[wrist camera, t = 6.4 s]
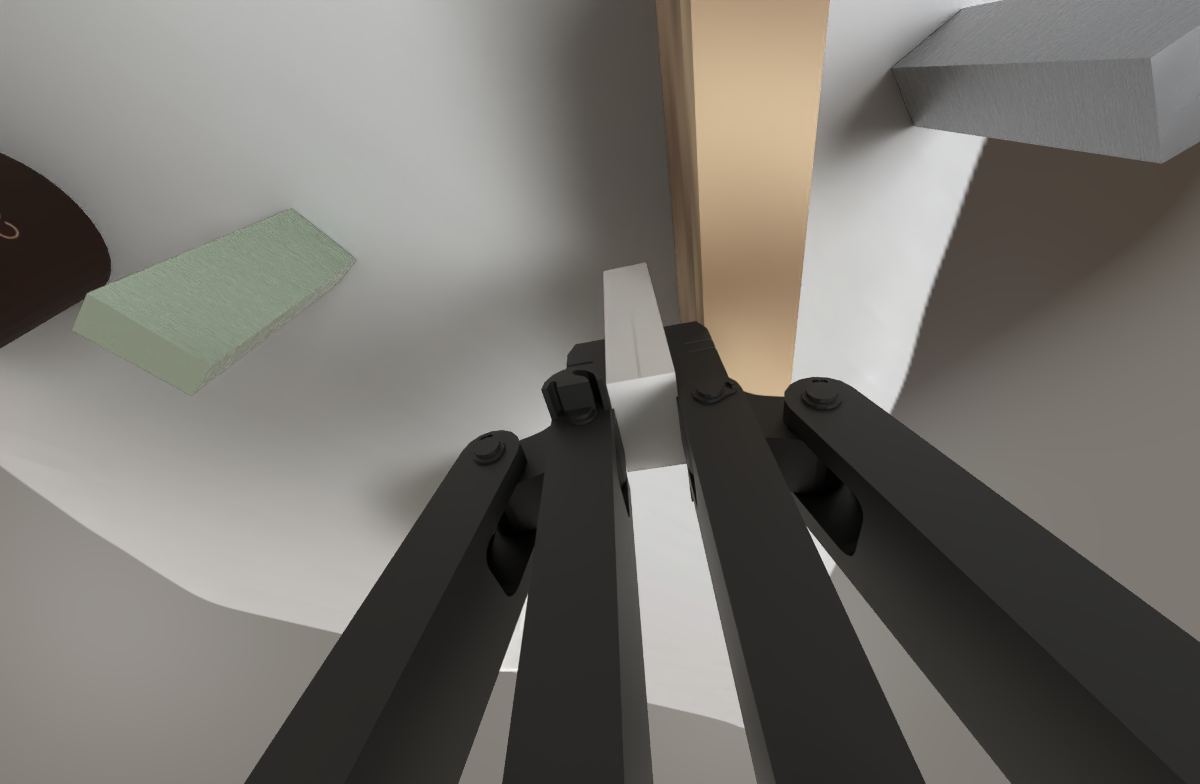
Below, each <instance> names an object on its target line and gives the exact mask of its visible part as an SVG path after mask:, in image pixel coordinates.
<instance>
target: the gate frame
mask: <svg viewBox="0 0 1200 784" xmlns="http://www.w3.org/2000/svg"><path fill="white" fill-rule="evenodd" d="M892 71H893V74H894V76H895V79H896V81H897V84H898V86H899V89H900V91H901V94H902V96H903V99H904V101H905V104H906V106H907V109H908V111H909V114H910V116H911V119H912V121H913V124H914V126H917V127H923V128H930V129H937V130H943V131H950V132H956V133H963V134H970V135H976V136H983V137H991V138H996V139H1004V140H1010V141H1016V142H1023V143H1030V144H1036V145H1043V146H1049V147H1056V148H1063V149H1069V150H1076V151H1083V152H1090V153H1096V154H1103V155H1109V156H1117V157H1122V158H1129V159H1136V160H1142V161H1149V162H1157V163H1163V162H1165V161H1167V160H1169V159H1171V158H1172V157H1174V156H1175V155H1177V154H1179V153H1181V152H1182V151H1184V150H1186V149H1187V148H1189V147H1191V146H1193V145H1194V144H1196V143H1198V142H1199V141H1200V0H1002V1H997V2H992V3H987V4H982V5H977V6H972V7H967V8H963V9H962V10H961V11H959V12H958V13H957V14H956V15H955V16H953V17H952V18H951V19H950V20H949V21H947V22H946V23H945V24H944V25H943V26H941V27H940V28H939V29H938V30H936V31H935V32H934V33H933V34H932V35H930V36H929V37H928V38H927V39H926V40H924V41H923V42H922V43H921V44H920V45H918V46H917V47H916V48H915V49H914V50H912V51H911V52H910V53H909V54H907V55H906V56H905V57H904V58H903V59H901V60H900V61H899V62H898V63H897V64H895V65H894V66H893V67H892ZM355 261H356V259H355V258H354V257H352V256H351V255H350V254H349V253H347V252H346V251H345V250H344V249H342V248H341V247H340V246H339V245H337V244H336V243H335V242H334V241H332V240H331V239H330V238H329V237H327V236H326V235H325V234H324V233H322V232H321V231H320V230H319V229H317V228H316V227H315V226H314V225H312V224H311V223H310V222H309V221H307V220H306V219H305V218H304V217H302V216H301V215H300V214H299V213H297V212H296V211H295V210H294V209H292V208H291V209H288V210H286V211H284V212H281V213H279V214H276V215H274V216H272V217H269V218H267V219H264V220H262V221H260V222H257V223H255V224H252V225H250V226H248V227H245V228H243V229H240V230H238V231H236V232H233V233H231V234H228V235H226V236H223V237H221V238H219V239H216V240H214V241H211V242H209V243H207V244H204V245H202V246H199V247H197V248H195V249H192V250H190V251H187V252H185V253H183V254H180V255H178V256H175V257H173V258H171V259H168V260H166V261H163V262H161V263H158V264H156V265H154V266H151V267H149V268H146V269H144V270H142V271H139V272H137V273H134V274H132V275H130V276H127V277H125V278H122V279H120V280H118V281H115V282H113V283H110V284H108V285H106V286H103V287H101V288H98V289H96V290H93V291H91V292H89V293H87V294H86V297H85V299H84V302H83V304H82V306H81V309H80V311H79V314H78V316H77V318H76V321H75V323H74V326H73V328H72V331H74V332H76V333H78V334H80V335H81V336H83V337H85V338H87V339H89V340H91V341H92V342H94V343H96V344H98V345H100V346H102V347H103V348H105V349H107V350H109V351H111V352H112V353H114V354H116V355H118V356H120V357H122V358H123V359H125V360H127V361H129V362H131V363H133V364H134V365H136V366H138V367H140V368H142V369H143V370H145V371H147V372H149V373H151V374H153V375H154V376H156V377H158V378H160V379H162V380H164V381H165V382H167V383H169V384H171V385H173V386H175V387H176V388H178V389H180V390H182V391H184V392H185V393H187V394H189V395H191V396H192V395H193V394H194V393H195V392H197V391H198V390H199V389H201V388H202V387H203V386H204V385H206V384H207V383H208V382H210V381H211V380H212V379H214V378H215V377H216V376H217V375H219V374H220V373H221V372H223V371H224V370H225V369H227V368H228V367H229V366H230V365H232V364H233V363H234V362H236V361H237V360H238V359H240V358H241V357H242V356H243V355H245V354H246V353H247V352H249V351H250V350H251V349H253V348H254V347H255V346H256V345H258V344H259V343H260V342H262V341H263V340H264V339H266V338H267V337H268V336H269V335H271V334H272V333H273V332H275V331H276V330H277V329H278V328H280V327H281V326H282V325H284V324H285V323H286V322H288V321H289V320H290V319H291V318H293V317H294V316H295V315H297V314H298V313H299V312H301V311H302V310H303V309H304V308H306V307H307V306H308V305H310V304H311V303H312V302H314V301H315V300H316V299H317V298H319V297H320V296H321V295H323V294H324V293H325V292H327V291H328V290H329V289H330V288H332V287H333V286H334V285H336V284H337V283H338V282H339V281H340V280H341V279H342V277H343V276H344V275H345V273H346V272H347V271H348V270H349V268H350V267H351V266H352V264H353V263H354V262H355Z"/></svg>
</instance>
